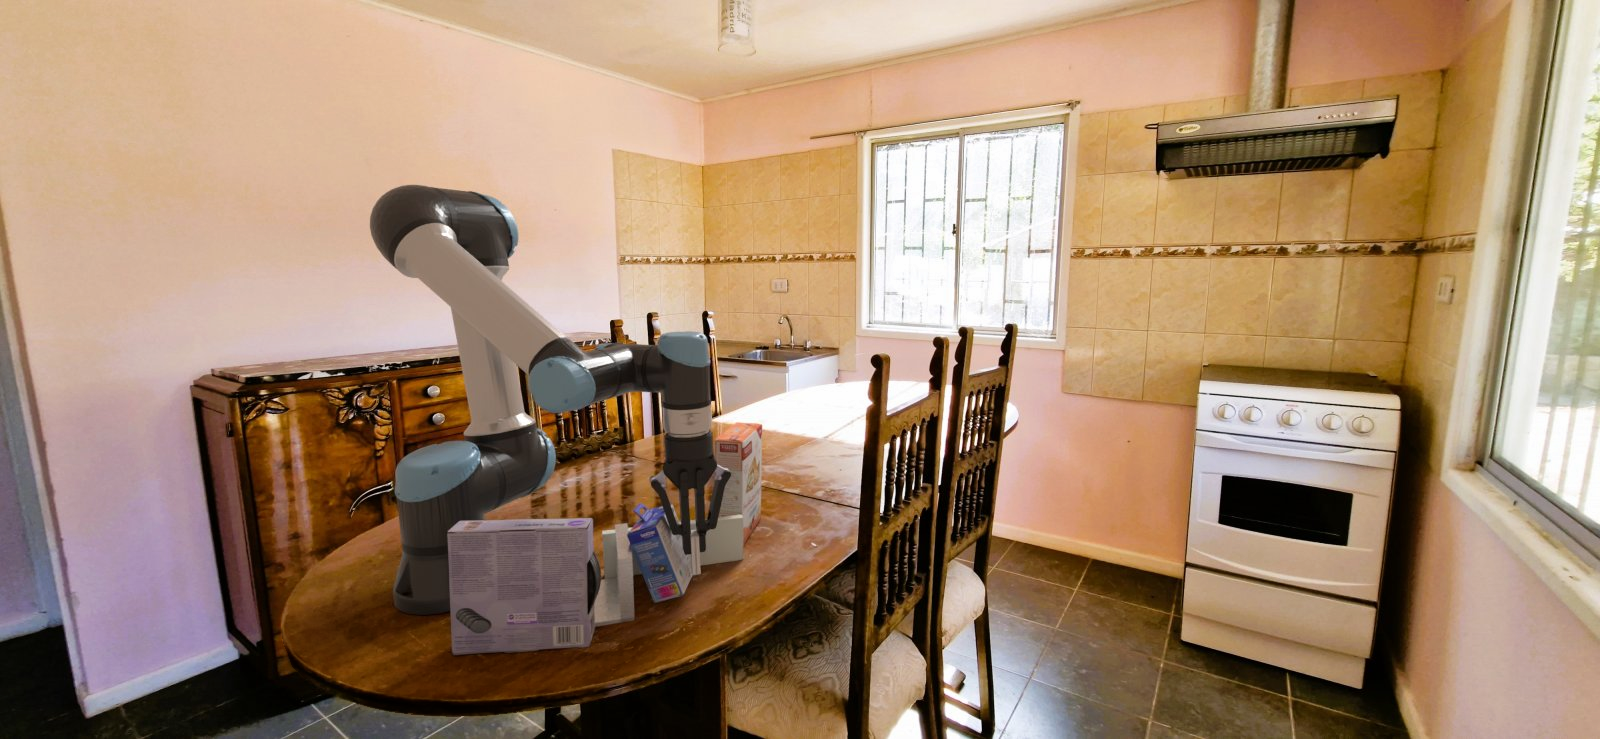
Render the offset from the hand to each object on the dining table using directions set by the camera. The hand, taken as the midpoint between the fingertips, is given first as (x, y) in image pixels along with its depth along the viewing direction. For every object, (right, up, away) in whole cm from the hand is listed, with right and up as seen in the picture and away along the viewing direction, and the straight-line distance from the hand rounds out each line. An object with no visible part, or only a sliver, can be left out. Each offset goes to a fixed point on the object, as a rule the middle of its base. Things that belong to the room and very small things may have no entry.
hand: (695, 570), depth 102 cm
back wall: (-5, -2, +8) cm, 9 cm away
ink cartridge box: (-3, -3, 0) cm, 4 cm away
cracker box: (+5, 0, +23) cm, 23 cm away
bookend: (-14, -4, -4) cm, 14 cm away
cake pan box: (-21, -6, -14) cm, 26 cm away
